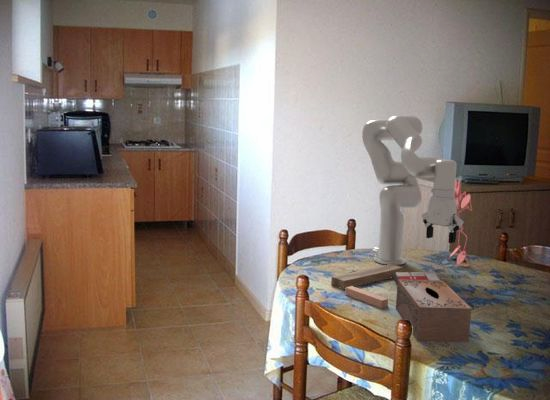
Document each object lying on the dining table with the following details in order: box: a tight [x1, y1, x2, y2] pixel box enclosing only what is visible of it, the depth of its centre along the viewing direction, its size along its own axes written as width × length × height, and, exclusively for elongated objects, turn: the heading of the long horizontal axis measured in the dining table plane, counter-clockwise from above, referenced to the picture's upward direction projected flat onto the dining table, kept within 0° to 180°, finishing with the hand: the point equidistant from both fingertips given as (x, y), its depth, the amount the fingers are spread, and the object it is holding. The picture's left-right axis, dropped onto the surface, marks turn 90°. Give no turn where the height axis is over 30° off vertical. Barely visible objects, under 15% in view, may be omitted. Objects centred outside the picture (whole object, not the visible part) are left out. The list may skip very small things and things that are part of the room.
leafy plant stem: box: [433, 178, 473, 268], centre depth 249 cm, size 15×26×35 cm, turn 175°
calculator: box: [393, 271, 441, 286], centre depth 217 cm, size 11×4×15 cm
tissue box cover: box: [395, 279, 473, 343], centre depth 179 cm, size 26×14×10 cm, turn 2°
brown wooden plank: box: [330, 264, 404, 290], centre depth 222 cm, size 6×32×3 cm, turn 129°
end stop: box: [344, 286, 389, 309], centre depth 199 cm, size 16×3×2 cm, turn 39°
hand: (440, 240), depth 220 cm, fingers open, 9 cm apart
